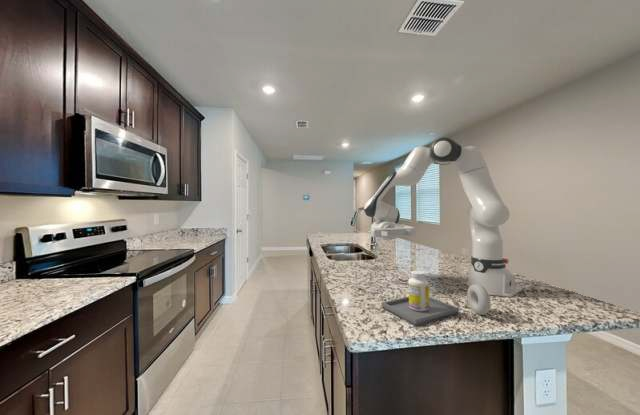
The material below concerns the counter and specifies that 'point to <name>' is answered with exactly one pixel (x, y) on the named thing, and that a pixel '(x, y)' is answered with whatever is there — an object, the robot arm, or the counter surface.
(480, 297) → the donut
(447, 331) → the counter surface
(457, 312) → the drying tray
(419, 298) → the supplement bottle
